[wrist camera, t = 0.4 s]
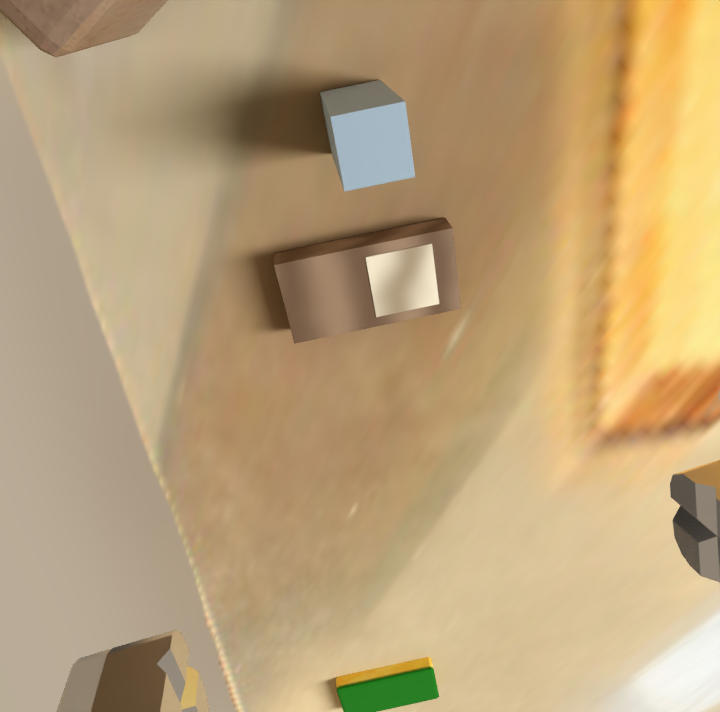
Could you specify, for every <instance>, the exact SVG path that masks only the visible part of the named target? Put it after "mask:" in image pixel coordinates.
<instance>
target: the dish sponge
mask: <svg viewBox="0 0 720 712" xmlns="http://www.w3.org/2000/svg"><path fill="white" fill-rule="evenodd" d="M336 687H337V693H338V696H339V699H340V702H341V705H342V708H343V711H344V712H377V711H382V710H386V709H391V708H395V707H400V706H404V705H409V704H413V703H418V702H423V701H427V700H432V699H436V698H438V697H439V694H438V689H437V684H436V679H435V674H434V669H433V665H432V661H431V658H429V657H426V658H422V659H417V660H413V661H408V662H404V663H399V664H394V665H390V666H385V667H381V668H376V669H372V670H367V671H362V672H358V673H353V674H349V675H344V676H340V677H337V678H336Z"/></svg>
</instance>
